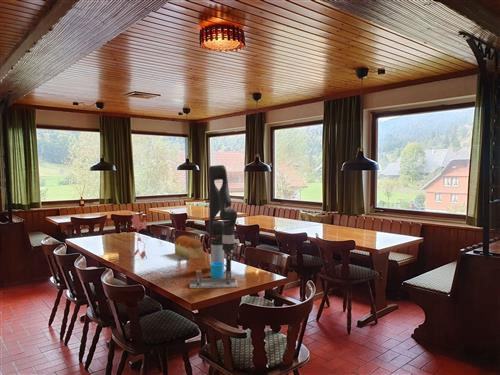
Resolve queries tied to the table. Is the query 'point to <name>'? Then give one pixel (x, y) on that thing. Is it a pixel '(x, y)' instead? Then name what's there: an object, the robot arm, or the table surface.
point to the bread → (188, 247)
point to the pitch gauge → (211, 282)
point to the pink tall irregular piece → (136, 225)
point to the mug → (217, 270)
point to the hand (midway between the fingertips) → (228, 270)
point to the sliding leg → (228, 273)
